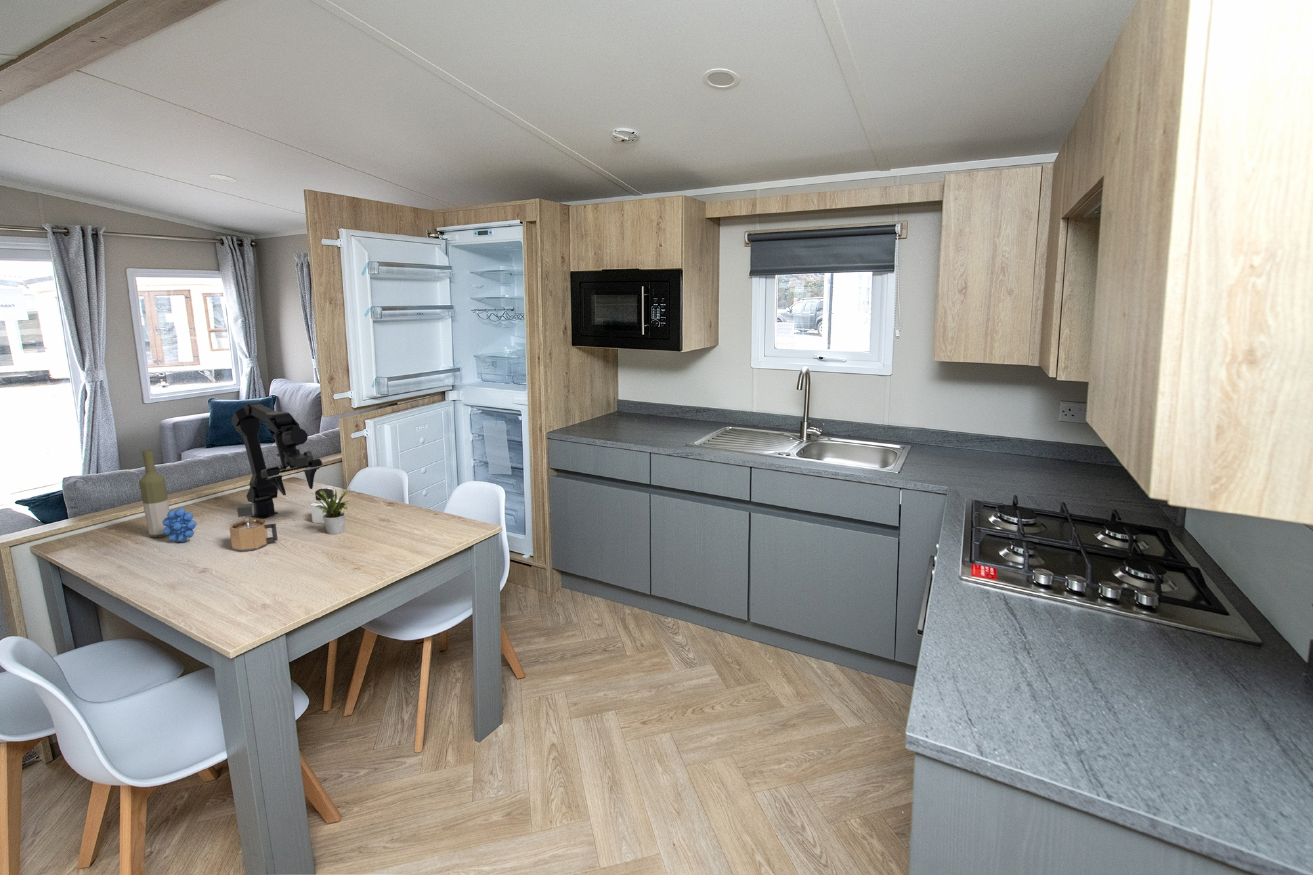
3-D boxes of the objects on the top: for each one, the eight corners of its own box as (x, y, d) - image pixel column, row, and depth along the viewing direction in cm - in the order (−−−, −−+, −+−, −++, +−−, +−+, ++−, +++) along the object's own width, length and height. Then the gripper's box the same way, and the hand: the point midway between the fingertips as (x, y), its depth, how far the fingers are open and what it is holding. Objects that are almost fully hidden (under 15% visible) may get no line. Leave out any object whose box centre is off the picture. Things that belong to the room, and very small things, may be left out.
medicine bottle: (329, 524, 234) (326, 492, 231) (312, 523, 235) (308, 491, 233) (342, 518, 241) (339, 487, 238) (325, 516, 242) (322, 485, 240)
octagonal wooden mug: (236, 543, 215) (233, 521, 214) (279, 537, 220) (277, 516, 219) (230, 553, 207) (227, 531, 205) (276, 547, 212) (273, 525, 210)
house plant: (304, 541, 217) (298, 495, 214) (313, 527, 230) (308, 483, 227) (350, 537, 221) (345, 491, 217) (357, 524, 234) (353, 480, 231)
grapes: (208, 538, 220) (203, 504, 217) (192, 545, 213) (187, 511, 211) (176, 537, 221) (170, 503, 218) (159, 544, 214) (154, 509, 212)
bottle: (178, 533, 224) (164, 449, 218) (155, 540, 218) (141, 453, 212) (166, 530, 227) (152, 447, 221) (143, 537, 221) (129, 451, 214)
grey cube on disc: (237, 526, 213) (234, 503, 212) (262, 523, 216) (259, 501, 215) (233, 533, 207) (230, 510, 205) (259, 530, 210) (256, 507, 208)
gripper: (269, 450, 213) (281, 496, 213) (324, 440, 228) (335, 483, 228) (254, 454, 219) (266, 499, 220) (309, 445, 234) (320, 486, 235)
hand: (298, 492), depth 226 cm, fingers open, 9 cm apart
